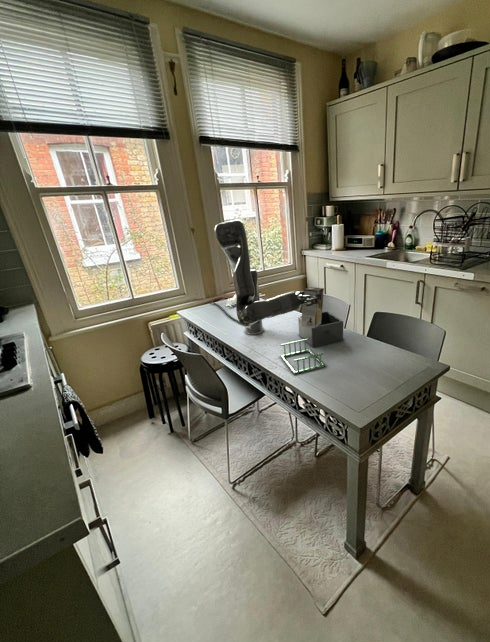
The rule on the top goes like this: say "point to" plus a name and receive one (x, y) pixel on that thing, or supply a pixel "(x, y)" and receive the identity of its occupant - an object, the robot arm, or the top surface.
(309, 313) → the coffee box
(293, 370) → the dish rack
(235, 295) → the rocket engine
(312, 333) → the grey open box
